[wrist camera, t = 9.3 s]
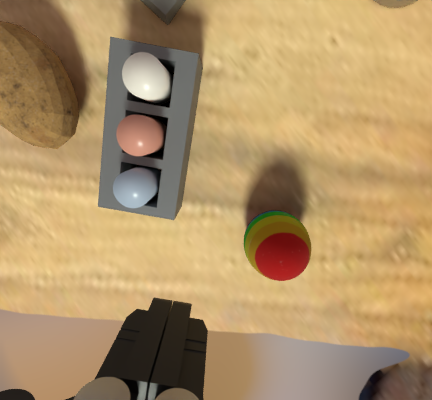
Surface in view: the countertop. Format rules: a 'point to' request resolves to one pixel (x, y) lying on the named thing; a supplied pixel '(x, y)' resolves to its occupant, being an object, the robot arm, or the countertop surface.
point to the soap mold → (164, 8)
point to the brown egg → (141, 135)
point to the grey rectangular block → (132, 105)
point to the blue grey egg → (136, 186)
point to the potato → (34, 90)
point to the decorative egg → (277, 245)
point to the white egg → (147, 78)
